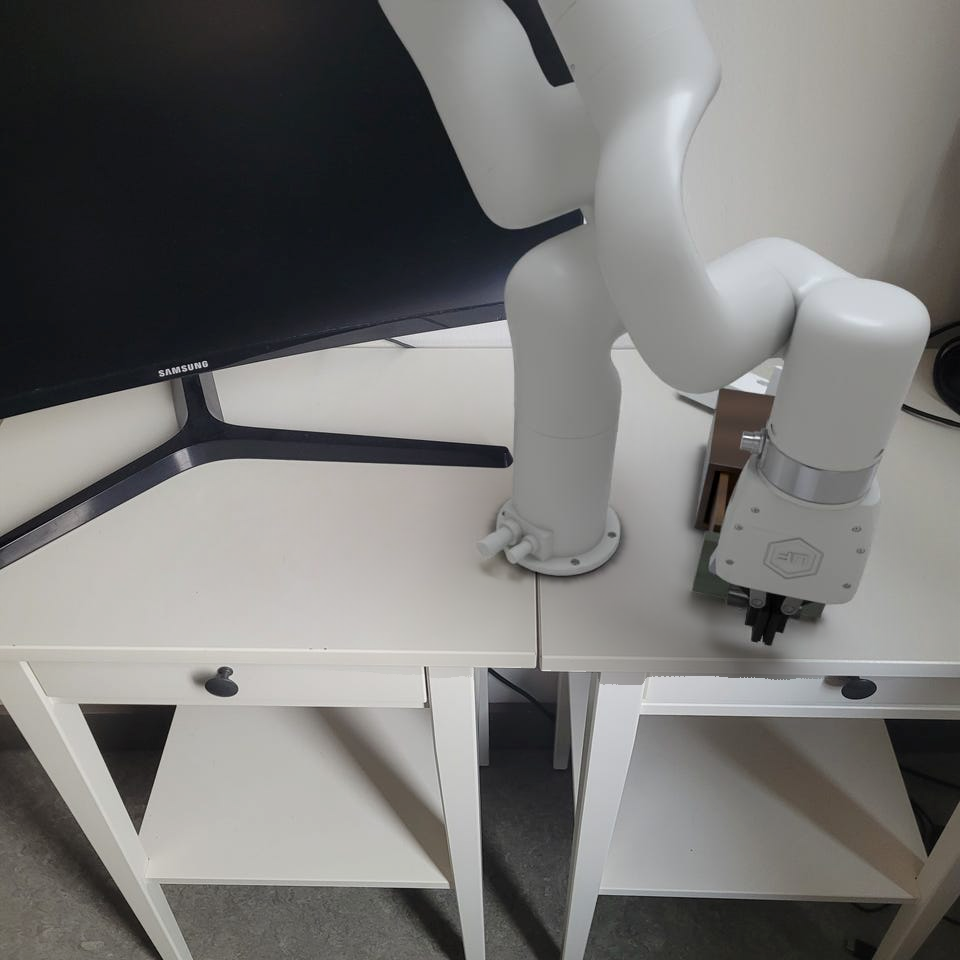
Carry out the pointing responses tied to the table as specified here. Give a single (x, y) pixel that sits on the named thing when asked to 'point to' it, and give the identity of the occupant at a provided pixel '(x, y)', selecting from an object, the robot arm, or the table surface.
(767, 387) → the bracket
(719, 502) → the drawer
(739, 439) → the cabinet
